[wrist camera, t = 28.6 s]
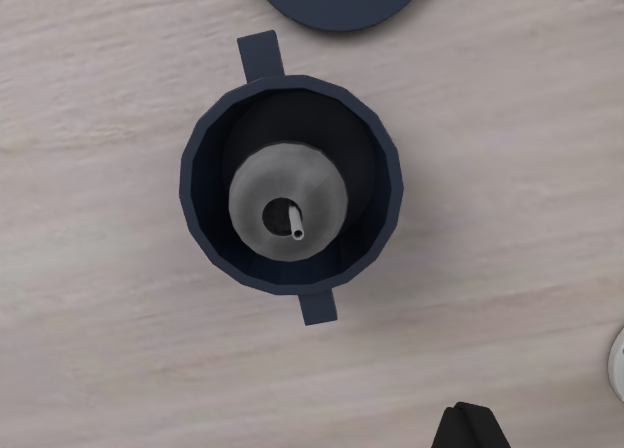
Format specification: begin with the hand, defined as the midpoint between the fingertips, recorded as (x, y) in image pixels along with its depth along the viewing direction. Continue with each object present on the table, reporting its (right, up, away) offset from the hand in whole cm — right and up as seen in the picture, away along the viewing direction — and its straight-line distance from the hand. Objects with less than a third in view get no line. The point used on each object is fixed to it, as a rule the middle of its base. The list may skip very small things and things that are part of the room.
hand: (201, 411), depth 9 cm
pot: (+1, +8, +30) cm, 31 cm away
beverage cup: (+1, +8, +30) cm, 31 cm away
